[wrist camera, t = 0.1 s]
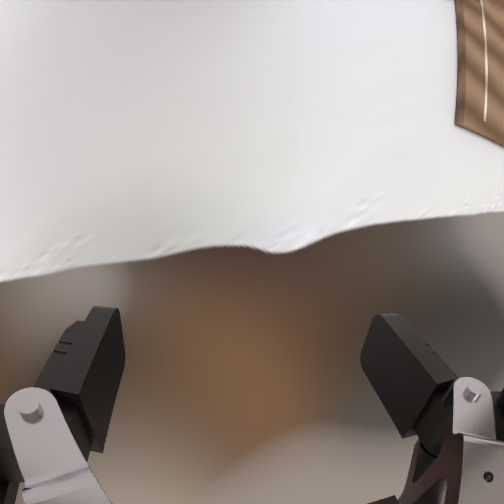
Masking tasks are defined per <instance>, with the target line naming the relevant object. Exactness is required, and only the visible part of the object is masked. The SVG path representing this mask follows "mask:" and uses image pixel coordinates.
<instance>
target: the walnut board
mask: <svg viewBox="0 0 504 504" xmlns="http://www.w3.org/2000/svg"><path fill="white" fill-rule="evenodd" d="M455 8H456V21H457V41H458V80H457V101H456V115H455V124H457V125H459V126H461V127H464V128H466V129H468V130H471V131H473V132H475V133H477V134H479V135H481V136H484V137H486V138H488V139H490V140H492V141H494V142H496V143H498V144H500V145H502V146H504V0H455Z"/></svg>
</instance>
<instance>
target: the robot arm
mask: <svg viewBox="0 0 504 504" xmlns="http://www.w3.org/2000/svg"><path fill="white" fill-rule="evenodd" d="M360 361H361V367H362V369H363V371H364V373H365V374H366V376H367V378H368V379H369V381H370V383H371V385H372V386H373V388H374V390H375V391H376V393H377V395H378V396H379V398H380V400H381V402H382V403H383V405H384V407H385V409H386V410H387V412H388V414H389V416H390V417H391V419H392V421H393V423H394V424H395V426H396V428H397V429H398V431H399V433H400V435H401V436H402V438H407V437H410V436H414V435H417V436H418V437H419V439H418V440H417V441H416V443H415V445H414V449H413V454H412V459H411V463H410V468H409V472H408V476H407V480H406V484H405V487H404V490H403V493H402V494H401V496H400V497H399V499H398V500H397V499H396V496H395V495H394V496H391V497H388V498H385V499H381V500H378V501H375V502H372V503H368V504H504V388H503V390H502V391H501V392H490V391H489V389H488V388H487V387H486V386H485V385H484V384H483V383H482V382H480V381H478V380H476V379H474V378H470V377H462V378H458V377H457V375H456V374H455V373H454V372H453V371H452V370H451V368H450V367H449V366H448V365H447V364H446V363H445V362H444V360H443V359H442V358H441V357H440V356H439V355H438V353H436V352H435V350H434V349H433V348H432V347H431V346H429V343H428V342H427V341H426V340H425V339H424V338H423V337H422V336H421V335H420V334H419V333H417V332H416V331H414V330H413V329H411V328H410V327H409V326H408V325H407V324H406V322H405V321H404V320H403V319H402V318H401V317H400V316H399V315H398V314H381V315H380V314H379V315H376V316H374V317H373V319H372V322H371V325H370V328H369V331H368V334H367V337H366V340H365V342H364V345H363V348H362V351H361V357H360ZM124 366H125V347H124V341H123V334H122V325H121V318H120V312H119V309H118V308H110V307H101V306H94V307H93V308H92V309H91V311H90V313H89V314H88V316H87V318H86V320H85V321H76V322H75V323H74V324H72V325H71V326H70V327H68V328H67V329H66V330H65V331H64V333H63V335H62V336H61V338H60V340H59V343H57V345H56V346H55V348H54V350H53V353H51V355H50V357H49V359H48V361H47V362H46V364H45V366H44V368H43V370H42V371H41V373H40V375H39V377H38V379H37V381H36V383H35V385H34V386H33V387H32V388H25V389H22V390H19V391H18V392H16V393H14V394H13V395H12V396H11V397H10V398H9V399H8V401H7V403H6V404H0V504H15V500H16V495H17V491H18V487H19V483H20V482H25V484H26V488H25V489H23V490H22V495H23V499H24V502H25V504H112V502H111V501H110V499H109V498H108V496H107V495H106V493H105V492H104V490H103V489H102V487H101V485H100V484H99V482H98V480H97V479H96V477H95V476H94V474H93V472H92V470H91V469H90V467H89V465H88V464H87V461H88V457H89V453H90V451H94V452H100V453H103V450H104V445H105V441H106V436H107V431H108V428H109V423H110V419H111V416H112V412H113V407H114V404H115V400H116V396H117V392H118V389H119V385H120V381H121V378H122V374H123V371H124Z"/></svg>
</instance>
